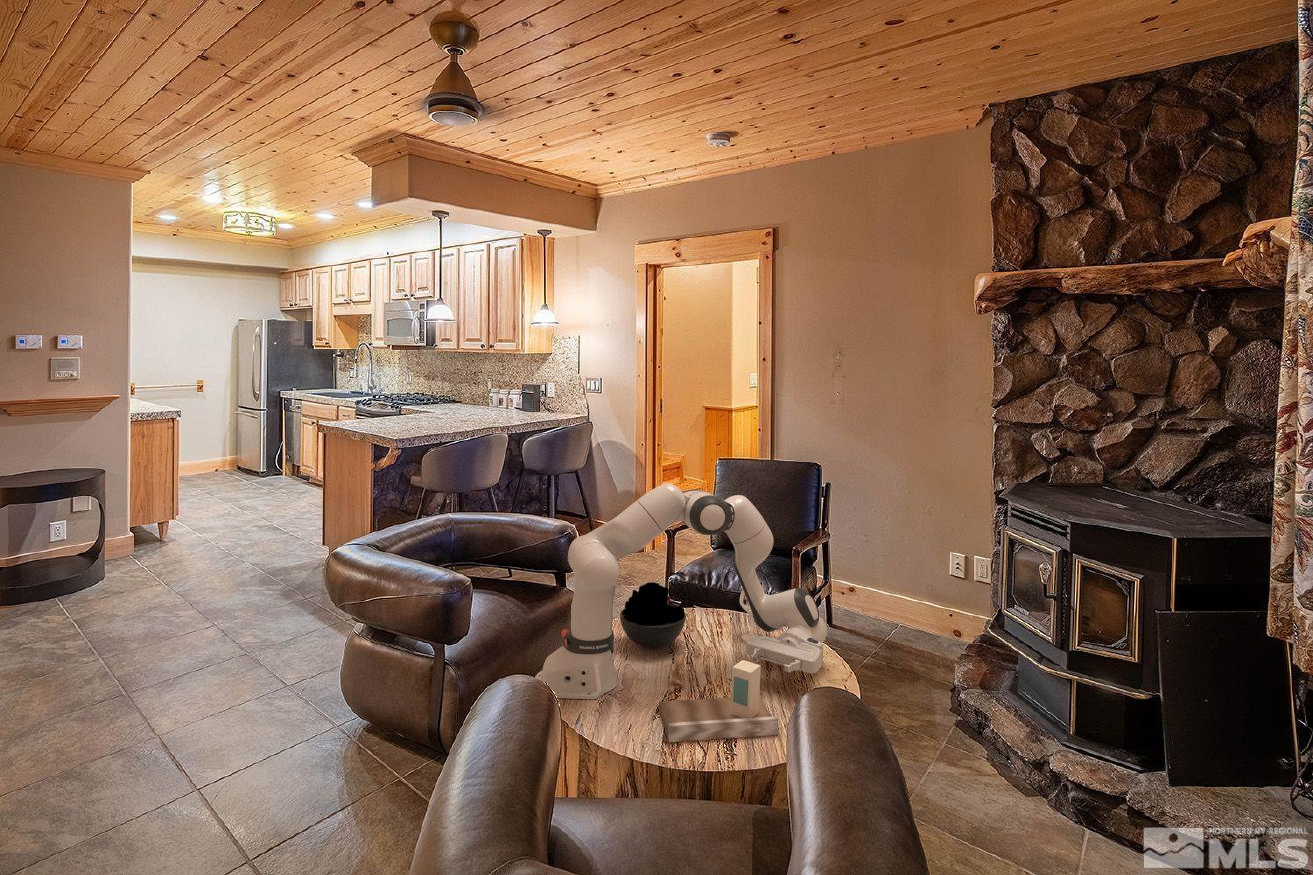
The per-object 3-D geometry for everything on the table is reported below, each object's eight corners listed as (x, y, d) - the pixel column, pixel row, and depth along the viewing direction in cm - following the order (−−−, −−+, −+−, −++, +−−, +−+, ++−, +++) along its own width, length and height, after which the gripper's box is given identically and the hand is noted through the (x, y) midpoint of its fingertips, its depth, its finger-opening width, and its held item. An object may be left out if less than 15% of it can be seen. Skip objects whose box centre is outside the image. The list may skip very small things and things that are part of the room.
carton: (741, 705, 174) (742, 659, 173) (758, 711, 171) (760, 665, 170) (730, 714, 170) (732, 667, 168) (748, 720, 167) (750, 673, 165)
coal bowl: (678, 631, 225) (680, 575, 222) (690, 658, 205) (692, 596, 203) (616, 633, 222) (617, 576, 220) (622, 661, 202) (623, 598, 200)
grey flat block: (669, 742, 160) (669, 726, 160) (658, 708, 176) (659, 693, 175) (778, 735, 164) (778, 719, 164) (758, 702, 180) (759, 688, 179)
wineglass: (733, 637, 220) (734, 582, 218) (749, 631, 226) (751, 577, 224) (753, 646, 215) (755, 589, 212) (769, 638, 220) (771, 583, 218)
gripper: (759, 626, 196) (734, 642, 185) (828, 644, 184) (806, 663, 173) (758, 647, 197) (734, 664, 186) (827, 667, 185) (805, 687, 174)
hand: (769, 664), depth 179 cm, fingers open, 8 cm apart
